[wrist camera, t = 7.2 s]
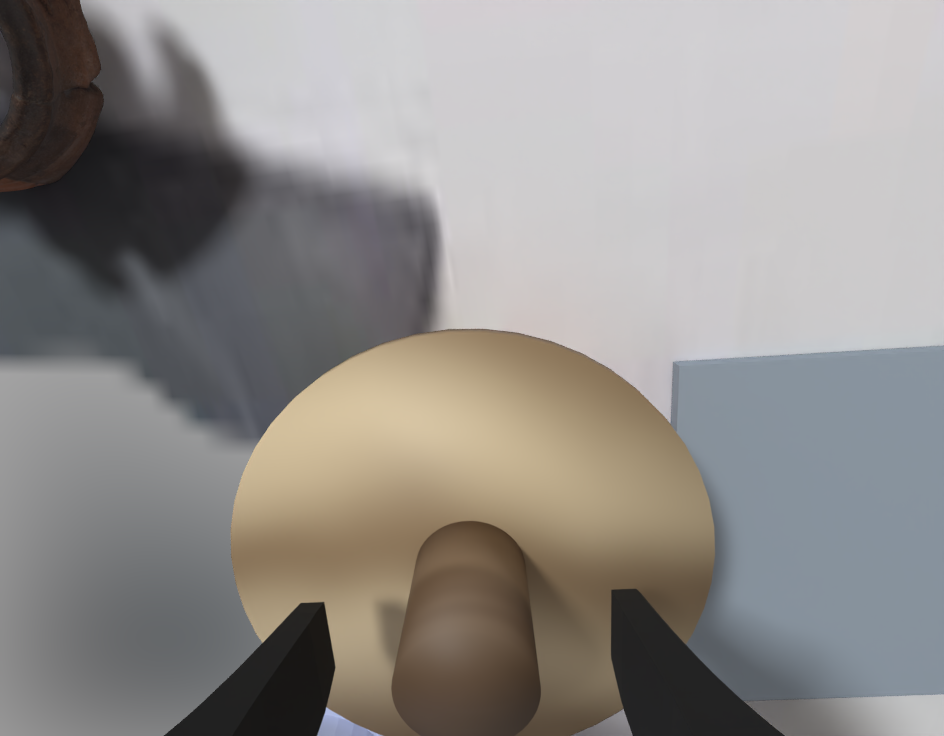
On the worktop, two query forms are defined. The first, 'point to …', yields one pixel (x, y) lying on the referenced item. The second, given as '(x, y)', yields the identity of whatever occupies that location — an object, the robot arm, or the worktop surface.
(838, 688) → the rubber mat
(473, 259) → the worktop surface
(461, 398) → the oak lid
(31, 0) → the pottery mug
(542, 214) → the worktop surface
